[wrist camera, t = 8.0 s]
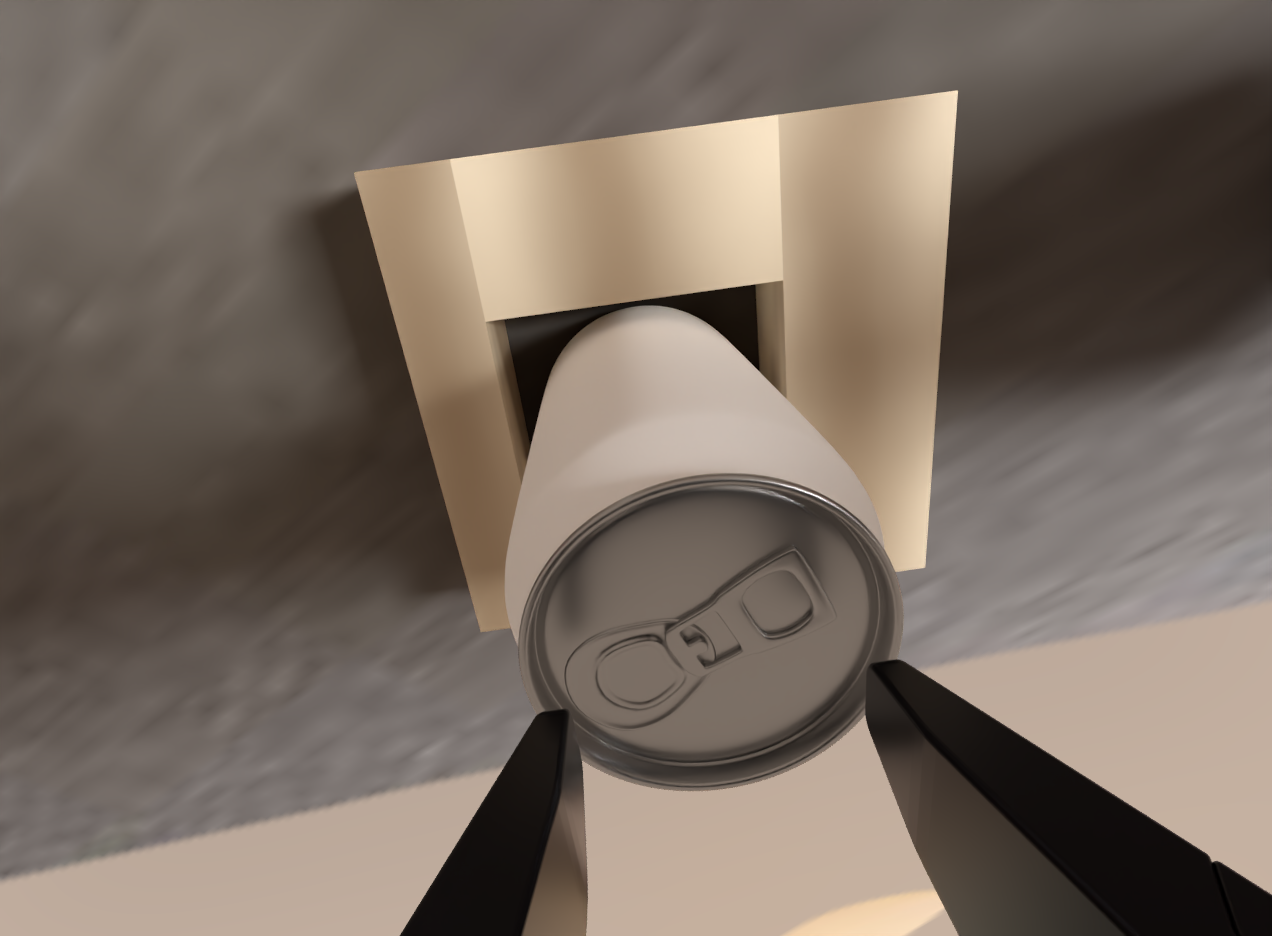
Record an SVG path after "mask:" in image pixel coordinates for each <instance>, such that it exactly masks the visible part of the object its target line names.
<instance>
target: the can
mask: <svg viewBox="0 0 1272 936" xmlns="http://www.w3.org/2000/svg"><path fill="white" fill-rule="evenodd" d="M505 602H506V609H507V614H508V619H509V623H510V626H511V629H512V632H513V635H514V638H515V640H516V643H517V645H518V655H519V665H520V671H521V676H522V680H523V684H524V687H525V690H526V693H527V695H528V698H529V700H530V702H531V704H532V706H533V708H534V710H535V712H536V714H537V715H538V714H539V713H540V712H544V711H551V710H557V709H568V710H569V711H570V712H571V714H572V717H573V722H574V726H575V731H576V735H577V740H578V744H579V749H580V754H581V759H582V761H584V762H585V763H587V764H589V765H590V766H592V767H594V768H596V769H598V770H600V771H602V772H604V773H606V774H609V775H611V776H613V777H616V778H619V779H621V780H624V781H627V782H631V783H634V784H638V785H642V786H647V787H651V788H657V789H664V790H675V791H709V790H719V789H727V788H733V787H738V786H743V785H748V784H752V783H755V782H759V781H762V780H766V779H768V778H771V777H774V776H777V775H779V774H782V773H784V772H787V771H789V770H791V769H793V768H795V767H798V766H799V765H801V764H804V763H805V762H807V761H809V760H811V759H812V758H814V757H816V756H817V755H819V754H820V753H822V752H824V751H825V750H827V749H828V748H829V747H831V746H832V745H833V744H835V743H836V742H837V741H839V740H840V739H841V738H842V737H843V736H844V735H846V734H847V733H848V732H849V731H850V730H851V729H852V728H853V727H854V726H855V725H856V724H857V723H858V722H859V721H860V720H861V719H862V718H863V717H864V715H865V697H866V671H867V668H868V666H869V665H870V664H871V663H874V662H881V661H887V660H894V659H897V657H898V654H899V650H900V646H901V641H902V634H903V621H904V613H903V601H902V594H901V589H900V585H899V582H898V578H897V575H896V572H895V570H894V568H893V565H892V563H891V561H890V559H889V557H888V555H887V553H886V552H885V547H884V540H883V535H882V530H881V526H880V522H879V519H878V516H877V513H876V511H875V508H874V506H873V504H872V501H871V499H870V497H869V496H868V494H867V492H866V490H865V489H864V487H863V485H862V484H861V482H860V481H859V479H858V478H857V476H856V475H855V473H854V472H853V470H852V469H851V468H850V467H849V465H848V464H847V463H846V462H845V461H844V459H843V458H842V457H841V456H840V455H839V454H838V452H837V451H836V450H835V449H834V448H833V447H832V446H831V445H830V444H829V443H828V441H827V440H826V439H825V438H824V437H823V436H822V435H821V434H820V433H819V432H818V431H817V430H816V429H815V428H814V427H813V426H812V425H811V424H810V423H809V422H808V421H807V420H806V419H805V417H804V416H803V415H802V414H801V413H800V412H799V411H798V410H797V409H796V408H795V407H794V406H793V405H792V404H791V403H790V402H789V401H788V400H787V399H786V398H785V397H784V396H783V395H782V394H781V393H780V392H779V391H778V390H777V389H776V388H775V387H774V386H773V385H772V384H771V383H770V382H769V381H768V380H767V379H766V378H765V377H764V376H763V375H762V374H761V373H760V372H759V371H758V370H757V369H756V368H755V367H754V366H753V365H752V364H751V363H750V362H749V361H748V360H747V359H746V358H745V357H744V356H743V355H742V354H741V353H740V352H739V351H738V350H737V349H736V348H735V347H734V346H733V345H732V344H731V343H730V342H729V341H728V340H727V339H726V338H725V337H724V336H723V335H721V334H720V333H719V332H718V331H717V330H716V329H714V328H713V327H712V326H710V325H709V324H708V323H706V322H705V321H703V320H701V319H699V318H698V317H696V316H694V315H691V314H689V313H687V312H684V311H681V310H678V309H674V308H669V307H663V306H635V307H629V308H624V309H620V310H617V311H614V312H611V313H609V314H606V315H604V316H602V317H600V318H598V319H597V320H595V321H593V322H592V323H590V324H589V325H587V326H586V327H584V328H583V329H582V330H581V331H580V332H578V333H577V334H576V335H575V336H574V337H573V338H572V339H571V340H570V342H569V343H568V344H567V345H566V346H565V348H564V349H563V351H562V352H561V354H560V355H559V357H558V358H557V360H556V362H555V364H554V366H553V368H552V370H551V373H550V376H549V379H548V382H547V385H546V388H545V392H544V396H543V400H542V403H541V407H540V411H539V415H538V419H537V423H536V427H535V431H534V435H533V439H532V443H531V448H530V452H529V456H528V460H527V464H526V468H525V472H524V477H523V481H522V485H521V489H520V494H519V498H518V502H517V506H516V511H515V515H514V520H513V524H512V529H511V534H510V539H509V545H508V550H507V556H506V565H505Z"/></svg>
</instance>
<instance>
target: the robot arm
mask: <svg viewBox="0 0 1272 936" xmlns="http://www.w3.org/2000/svg"><path fill="white" fill-rule="evenodd" d="M865 715H866V721H867V724H868V728H869V731H870V734H871V737H872V739H873V742H874V744H875V747H876V749H877V752H878V754H879V757H880V760H881V762H882V765H883V768H884V770H885V772H886V775H887V778H888V780H889V783H890V785H891V788H892V791H893V793H894V796H895V798H896V801H897V804H898V806H899V809H900V811H901V814H902V817H903V819H904V821H905V824H906V827H907V829H908V832H909V834H910V837H911V839H912V842H913V844H914V847H915V849H916V851H917V853H918V855H919V857H920V859H921V861H922V864H923V866H924V868H925V870H926V872H927V874H928V876H929V878H930V880H931V882H932V884H933V886H934V888H935V890H936V892H937V894H938V896H939V898H940V900H941V901H942V903H943V905H944V907H945V909H946V911H947V913H948V915H949V917H950V919H951V921H952V923H953V925H954V927H955V929H956V931H957V933H958V935H959V936H1272V895H1271V894H1270V893H1268V892H1267V891H1265V890H1263V889H1262V888H1260V887H1259V886H1257V885H1256V884H1254V883H1252V882H1251V881H1249V880H1248V879H1246V878H1245V877H1243V876H1241V875H1240V874H1238V873H1237V872H1235V871H1234V870H1232V869H1230V868H1229V867H1227V866H1226V865H1224V864H1222V863H1221V862H1218V861H1214V862H1212V861H1211V859H1210V857H1209V856H1208V854H1206V853H1205V852H1203V851H1202V850H1200V849H1198V848H1197V847H1195V846H1193V845H1192V844H1191V843H1189V842H1187V841H1186V840H1184V839H1183V838H1181V837H1179V836H1178V835H1176V834H1175V833H1173V832H1172V831H1170V830H1168V829H1167V828H1165V827H1164V826H1162V825H1161V824H1159V823H1158V822H1156V821H1154V820H1153V819H1151V818H1150V817H1148V816H1147V815H1145V814H1143V813H1142V812H1140V811H1139V810H1137V809H1136V808H1134V807H1132V806H1131V805H1129V804H1128V803H1126V802H1124V801H1123V800H1121V799H1120V798H1118V797H1117V796H1115V795H1113V794H1112V793H1110V792H1109V791H1107V790H1106V789H1104V788H1102V787H1101V786H1099V785H1098V784H1096V783H1095V782H1093V781H1091V780H1090V779H1088V778H1087V777H1085V776H1083V775H1082V774H1080V773H1079V772H1077V771H1076V770H1074V769H1073V768H1071V767H1069V766H1068V765H1066V764H1065V763H1063V762H1062V761H1060V760H1058V759H1057V758H1055V757H1054V756H1052V755H1051V754H1049V753H1047V752H1046V751H1044V750H1043V749H1041V748H1040V747H1038V746H1036V745H1035V744H1033V743H1031V742H1030V741H1028V740H1027V739H1025V738H1024V737H1022V736H1020V735H1019V734H1017V733H1016V732H1014V731H1013V730H1011V729H1010V728H1008V727H1006V726H1005V725H1003V724H1002V723H1000V722H999V721H997V720H995V719H994V718H992V717H991V716H989V715H988V714H986V713H984V712H983V711H981V710H980V709H978V708H976V707H975V706H973V705H972V704H970V703H969V702H967V701H966V700H964V699H962V698H961V697H959V696H957V695H956V694H954V693H953V692H951V691H950V690H948V689H947V688H945V687H943V686H942V685H940V684H939V683H937V682H936V681H934V680H932V679H931V678H929V677H928V676H926V675H925V674H923V673H921V672H920V671H918V670H917V669H915V668H914V667H912V666H910V665H909V664H907V663H906V662H904V661H901V660H897V659H894V660H887V661H881V662H874V663H871V664H870V665H869V666H868V668H867V671H866V697H865ZM583 788H584V787H583V770H582V759H581V754H580V749H579V744H578V740H577V735H576V731H575V726H574V722H573V717H572V714H571V712H570V711H569V710H568V709H557V710H551V711H544V712H540V713H539V714H538V715H537V716H536V717H535V718H534V720H533V722H532V723H531V725H530V726H529V728H528V730H527V731H526V733H525V734H524V736H523V738H522V739H521V741H520V742H519V744H518V746H517V747H516V749H515V751H514V752H513V754H512V755H511V757H510V759H509V760H508V762H507V763H506V765H505V767H504V768H503V770H502V772H501V773H500V775H499V776H498V778H497V780H496V781H495V783H494V785H493V786H492V788H491V789H490V791H489V793H488V794H487V796H486V797H485V799H484V801H483V802H482V804H481V806H480V807H479V809H478V810H477V812H476V814H475V815H474V817H473V818H472V820H471V822H470V823H469V825H468V827H467V828H466V830H465V831H464V833H463V835H462V836H461V838H460V839H459V841H458V843H457V844H456V846H455V848H454V849H453V851H452V853H451V854H450V856H449V857H448V859H447V860H446V862H445V864H444V865H443V867H442V868H441V870H440V872H439V873H438V875H437V876H436V878H435V880H434V881H433V883H432V885H431V886H430V888H429V890H428V891H427V893H426V895H425V896H424V897H423V899H422V901H421V902H420V904H419V905H418V907H417V909H416V911H415V912H414V914H413V915H412V917H411V918H410V920H409V922H408V923H407V925H406V927H405V928H404V930H403V932H402V933H401V935H400V936H586V927H587V904H588V892H587V891H588V884H587V856H586V836H585V835H586V834H585V810H584V789H583Z"/></svg>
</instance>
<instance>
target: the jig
mask: <svg viewBox="0 0 1272 936" xmlns="http://www.w3.org/2000/svg"><path fill="white" fill-rule="evenodd" d="M957 95H958V91H950V92H943V93H935V94H928V95H921V96H913V97H906V98H899V99H891V100H884V101H876V102H869V103H862V104H854V105H847V106H840V107H832V108H825V109H817V110H810V111H803V112H795V113H788V114H781V115H773V116H766V117H758V118H751V119H744V120H736V121H729V122H722V123H714V124H707V125H699V126H692V127H685V128H677V129H670V130H663V131H655V132H648V133H640V134H633V135H626V136H618V137H611V138H604V139H596V140H589V141H581V142H574V143H567V144H559V145H552V146H545V147H537V148H530V149H523V150H515V151H508V152H500V153H493V154H486V155H478V156H471V157H464V158H456V159H449V160H441V161H434V162H427V163H419V164H412V165H405V166H397V167H390V168H382V169H375V170H368V171H360V172H354V175H355V178H356V182H357V186H358V189H359V193H360V196H361V200H362V204H363V207H364V211H365V215H366V218H367V222H368V225H369V229H370V233H371V236H372V240H373V243H374V247H375V251H376V254H377V258H378V262H379V265H380V269H381V272H382V276H383V280H384V283H385V287H386V291H387V294H388V298H389V301H390V305H391V309H392V312H393V316H394V320H395V323H396V327H397V330H398V334H399V338H400V341H401V345H402V348H403V352H404V356H405V359H406V363H407V367H408V370H409V374H410V377H411V381H412V385H413V388H414V392H415V396H416V399H417V403H418V406H419V410H420V414H421V417H422V421H423V424H424V428H425V432H426V435H427V439H428V443H429V446H430V450H431V453H432V457H433V461H434V464H435V468H436V472H437V475H438V479H439V482H440V486H441V490H442V493H443V497H444V501H445V504H446V508H447V511H448V515H449V519H450V522H451V526H452V529H453V533H454V537H455V540H456V544H457V548H458V551H459V555H460V558H461V562H462V566H463V569H464V573H465V577H466V580H467V584H468V587H469V591H470V595H471V598H472V602H473V605H474V609H475V613H476V616H477V620H478V624H479V627H480V631H481V632H486V631H492V630H499V629H506V628H511V626H510V623H509V619H508V614H507V609H506V602H505V565H506V556H507V550H508V545H509V539H510V534H511V529H512V524H513V520H514V515H515V511H516V506H517V502H518V498H519V494H520V489H521V485H522V481H523V477H524V472H525V468H526V464H527V460H528V456H529V452H530V448H531V446H530V442H529V437H528V432H527V427H526V422H525V418H524V413H523V408H522V403H521V398H520V393H519V389H518V384H517V379H516V374H515V369H514V364H513V360H512V355H511V350H510V345H509V340H508V335H507V331H506V326H505V321H504V319H509V318H516V317H523V316H531V315H538V314H545V313H552V312H559V311H566V310H574V309H581V308H588V307H595V306H602V305H610V304H617V303H624V302H631V301H638V300H646V299H653V298H660V297H667V296H674V295H682V294H689V293H696V292H703V291H710V290H717V289H725V288H732V287H739V286H746V285H753V284H755V287H756V307H757V328H758V349H759V370H760V373H761V374H762V375H763V376H764V377H765V378H766V379H767V380H768V381H769V382H770V383H771V384H772V385H773V386H774V387H775V388H776V389H777V390H778V391H779V392H780V393H781V394H782V395H783V396H784V397H785V398H786V399H787V400H788V401H789V402H790V403H791V404H792V405H793V406H794V407H795V408H796V409H797V410H798V411H799V412H800V413H801V414H802V415H803V416H804V417H805V419H806V420H807V421H808V422H809V423H810V424H811V425H812V426H813V427H814V428H815V429H816V430H817V431H818V432H819V433H820V434H821V435H822V436H823V437H824V438H825V439H826V440H827V441H828V443H829V444H830V445H831V446H832V447H833V448H834V449H835V450H836V451H837V452H838V454H839V455H840V456H841V457H842V458H843V459H844V461H845V462H846V463H847V464H848V465H849V467H850V468H851V469H852V470H853V472H854V473H855V475H856V476H857V478H858V479H859V481H860V482H861V484H862V485H863V487H864V489H865V490H866V492H867V494H868V496H869V497H870V499H871V501H872V504H873V506H874V508H875V511H876V513H877V516H878V519H879V522H880V526H881V530H882V535H883V540H884V547H885V552H886V553H887V555H888V557H889V559H890V561H891V563H892V565H893V568H894V570H895V572H898V571H905V570H912V569H919V568H925V561H926V546H927V532H928V517H929V503H930V488H931V474H932V459H933V445H934V430H935V415H936V401H937V386H938V372H939V357H940V343H941V328H942V314H943V299H944V284H945V270H946V255H947V241H948V226H949V212H950V197H951V183H952V168H953V153H954V139H955V124H956V110H957Z"/></svg>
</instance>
